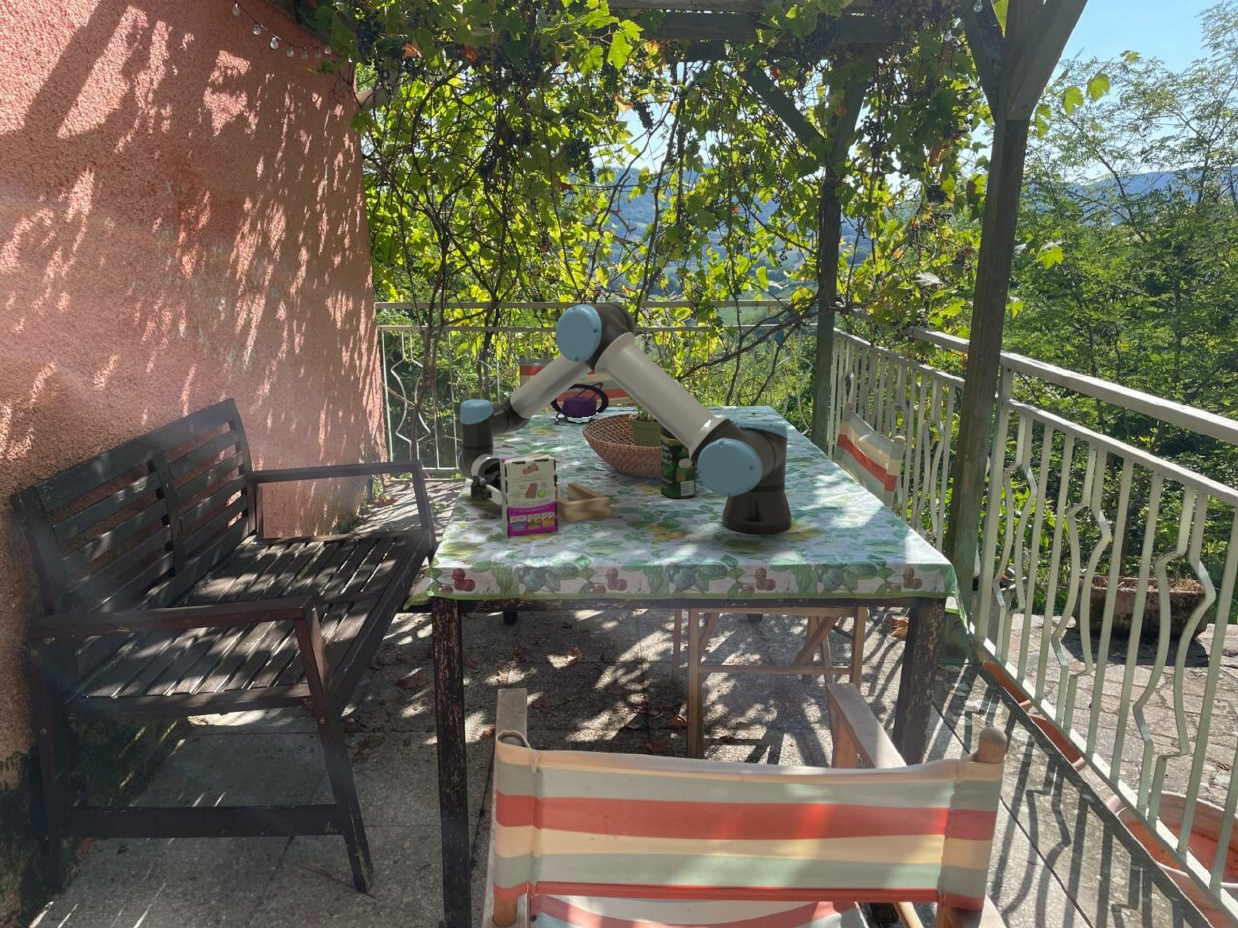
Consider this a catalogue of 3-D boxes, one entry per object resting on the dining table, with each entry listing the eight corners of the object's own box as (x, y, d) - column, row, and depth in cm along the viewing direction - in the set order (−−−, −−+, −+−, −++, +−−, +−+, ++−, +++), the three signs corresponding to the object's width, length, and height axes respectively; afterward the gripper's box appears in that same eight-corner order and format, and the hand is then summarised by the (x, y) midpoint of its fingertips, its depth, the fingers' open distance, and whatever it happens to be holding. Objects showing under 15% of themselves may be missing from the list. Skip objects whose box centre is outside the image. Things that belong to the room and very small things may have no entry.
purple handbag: (612, 417, 322) (612, 351, 316) (606, 427, 301) (606, 357, 296) (554, 416, 324) (553, 351, 318) (544, 426, 303) (542, 356, 298)
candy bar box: (551, 526, 185) (550, 453, 181) (558, 532, 180) (557, 457, 177) (501, 532, 181) (498, 457, 177) (507, 538, 176) (505, 462, 173)
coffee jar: (655, 490, 215) (656, 418, 211) (684, 488, 217) (685, 417, 213) (670, 500, 206) (671, 425, 202) (699, 497, 208) (701, 423, 204)
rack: (575, 497, 206) (575, 482, 206) (610, 515, 192) (610, 498, 191) (534, 503, 201) (533, 487, 200) (566, 522, 186) (566, 505, 185)
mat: (582, 497, 209) (582, 495, 208) (623, 517, 192) (623, 515, 192) (522, 505, 201) (522, 504, 201) (559, 527, 184) (559, 525, 184)
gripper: (542, 482, 202) (582, 503, 184) (441, 496, 190) (473, 519, 172) (541, 452, 201) (582, 469, 183) (439, 463, 189) (472, 483, 171)
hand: (529, 494), depth 178 cm, fingers open, 13 cm apart
